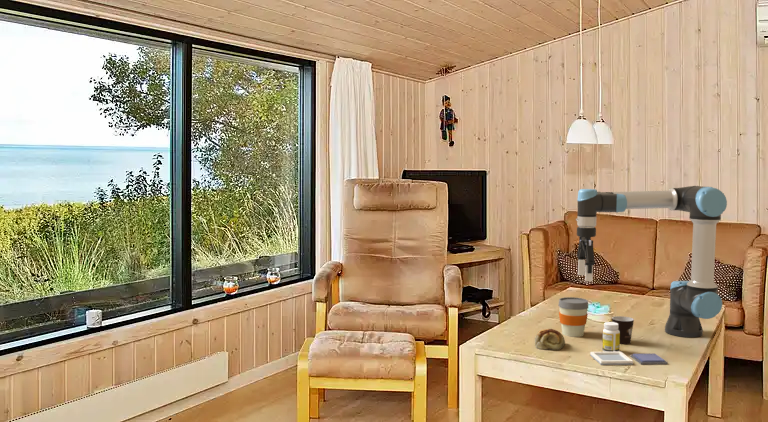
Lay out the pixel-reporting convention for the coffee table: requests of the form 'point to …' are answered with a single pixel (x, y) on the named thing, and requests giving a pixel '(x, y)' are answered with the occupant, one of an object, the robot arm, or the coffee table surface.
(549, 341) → the pastry
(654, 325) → the coffee table surface
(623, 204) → the robot arm
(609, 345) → the supplement bottle
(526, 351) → the coffee table surface
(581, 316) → the reusable coffee cup
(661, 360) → the ink pad
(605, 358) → the picture frame
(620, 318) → the coffee mug
